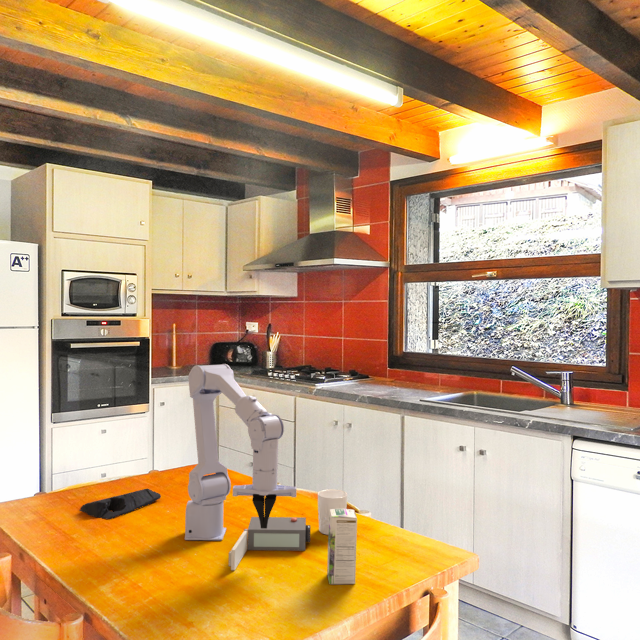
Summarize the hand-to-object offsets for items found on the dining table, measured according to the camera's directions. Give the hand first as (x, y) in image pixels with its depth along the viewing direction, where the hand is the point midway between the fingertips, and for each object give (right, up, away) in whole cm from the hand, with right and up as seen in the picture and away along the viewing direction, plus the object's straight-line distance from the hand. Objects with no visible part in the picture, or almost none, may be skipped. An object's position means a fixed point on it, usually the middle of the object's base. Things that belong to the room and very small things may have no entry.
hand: (264, 526), depth 138 cm
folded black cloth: (-46, -8, +39) cm, 61 cm away
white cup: (+16, -9, +21) cm, 28 cm away
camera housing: (+2, -8, +12) cm, 15 cm away
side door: (-6, -8, +2) cm, 10 cm away
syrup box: (+18, -9, -8) cm, 21 cm away
